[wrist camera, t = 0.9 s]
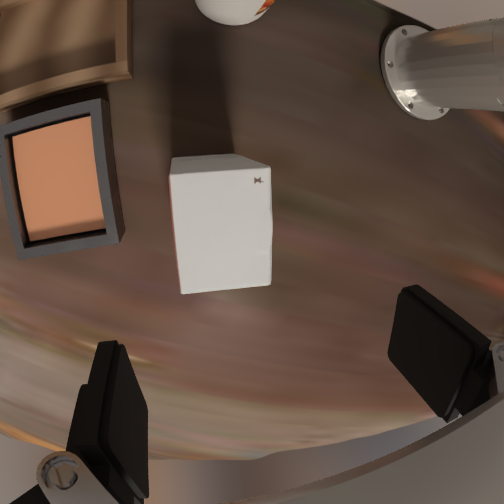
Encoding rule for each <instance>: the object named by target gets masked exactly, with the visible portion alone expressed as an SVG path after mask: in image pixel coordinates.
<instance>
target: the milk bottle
mask: <svg viewBox="0 0 504 504" xmlns="http://www.w3.org/2000/svg"><path fill="white" fill-rule="evenodd" d="M274 1H275V0H195V2H196V5H197V7H198V8H199V10H200V11H201V12H202V13H203V14H204V15H205V16H206V17H208V18H209V19H211V20H213V21H215V22H218V23H221V24H226V25H243V24H247V23H250V22H252V21H254V20H256V19H258V18H259V17H260V16H262V15H263V14H264V13H265V12H266V11H267V9H268V8H269V7H270V6H271V5H272V4H273V2H274Z"/></svg>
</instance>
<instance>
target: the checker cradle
mask: <svg viewBox="0 0 504 504" xmlns="http://www.w3.org/2000/svg"><path fill="white" fill-rule="evenodd" d="M89 116H91V127H92V138H93V147H94V156H95V164H96V172H97V179H98V186H99V193H100V199H101V205H102V211H103V216H104V222H105V227H106V228H103V229H97V230H91V231H85V232H79V233H74V234H68V235H62V236H57V237H51V238H46V239H40V240H35V241H30V238H29V234H28V230H27V226H26V221H25V217H24V212H23V207H22V202H21V196H20V191H19V185H18V178H17V172H16V164H15V157H14V148H13V138H12V137H14V136H17V135H20V134H23V133H27V132H30V131H34V130H37V129H41V128H44V127H48V126H52V125H55V124H59V123H63V122H67V121H72V120H76V119H80V118H85V117H89ZM0 175H1V182H2V188H3V193H4V199H5V204H6V209H7V214H8V219H9V223H10V228H11V232H12V236H13V240H14V244H15V248H16V251H17V255H18V259H19V260H21V259H27V258H33V257H39V256H44V255H50V254H56V253H62V252H68V251H75V250H81V249H87V248H93V247H100V246H106V245H112V244H119V243H120V241H121V239H122V237H123V235H124V233H125V226H124V220H123V214H122V208H121V202H120V195H119V189H118V181H117V174H116V166H115V158H114V149H113V139H112V129H111V117H110V103H109V102H108V101H105V100H103V99H101V98H98V99H94V100H89V101H85V102H80V103H76V104H72V105H68V106H64V107H60V108H56V109H52V110H49V111H45V112H42V113H38V114H35V115H32V116H28V117H25V118H22V119H19V120H16V121H13V122H10V123H7V124H4V125H1V126H0Z"/></svg>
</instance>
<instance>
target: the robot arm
mask: <svg viewBox="0 0 504 504" xmlns="http://www.w3.org/2000/svg"><path fill="white" fill-rule="evenodd" d="M381 69H382V74H383V78H384V81H385V84H386V86H387V88H388V90H389V92H390V94H391V96H392V97H393V99H394V100H395V102H396V103H397V104H398V105H399V106H400V107H401V108H402V109H403V110H404V111H405V112H407V113H408V114H409V115H411V116H413V117H415V118H419V119H423V120H433V119H438V118H440V117H442V116H443V115H444V114H446V113H447V111H448V110H449V109H450V108H461V109H480V110H493V111H504V17H503V18H496V19H490V20H484V21H478V22H472V23H467V24H461V25H456V26H452V27H447V28H442V29H438V30H434V31H430V32H429V31H427V30H426V29H424V28H421V27H419V26H415V25H405V26H401V27H398V28H396V29H394V30H392V31H391V32H390V33H389V34H388V35H387V37H386V39H385V40H384V43H383V46H382V49H381ZM490 344H491V340H489V339H488V338H487V337H486V336H484V335H483V334H482V333H481V332H479V331H478V330H477V329H476V328H474V327H473V326H472V325H471V324H469V323H468V322H467V321H465V320H464V319H463V318H462V317H460V316H459V315H458V314H456V313H455V312H454V311H453V310H451V309H450V308H449V307H447V306H446V305H445V304H443V303H442V302H441V301H439V300H438V299H437V298H435V297H434V296H433V295H431V294H430V293H429V292H427V291H426V290H425V289H423V288H422V287H421V286H419V285H412V286H408V287H404V288H403V289H402V290H401V293H399V295H398V299H397V305H396V311H395V317H394V322H393V328H392V333H391V338H390V343H389V348H388V357H389V359H390V361H391V362H392V363H393V364H394V365H395V367H396V368H397V369H398V370H399V371H400V372H401V373H402V375H403V376H404V377H405V378H406V379H407V380H408V382H409V383H410V384H411V385H412V386H413V387H414V389H415V390H416V391H417V392H418V393H419V395H420V396H421V397H422V398H423V399H424V400H425V402H426V403H427V404H428V405H429V406H430V408H431V409H432V410H433V411H434V412H435V414H436V415H437V416H438V417H442V418H443V419H444V420H445V421H446V423H448V422H450V421H452V420H453V419H455V418H457V417H458V415H459V413H460V414H461V415H462V417H461V418H459V419H457V420H455V421H454V422H452V423H450V424H448V425H447V426H445V427H443V428H441V429H439V430H438V431H436V432H434V433H432V434H430V435H428V436H426V437H424V438H422V439H420V440H418V441H416V442H414V443H412V444H410V445H408V446H406V447H404V448H402V449H399V450H397V451H395V452H393V453H391V454H388V455H386V456H384V457H381V458H379V459H376V460H374V461H372V462H369V463H367V464H364V465H361V466H359V467H356V468H354V469H351V470H348V471H345V472H343V473H340V474H337V475H334V476H331V477H328V478H325V479H322V480H318V481H315V482H312V483H309V484H305V485H302V486H298V487H295V488H291V489H287V490H283V491H279V492H275V493H271V494H267V495H262V496H258V497H253V498H248V499H242V500H237V501H231V502H226V503H220V504H504V342H501V343H497V344H496V345H495V346H494V347H493V349H492V351H490V350H489V346H490ZM36 473H37V481H38V484H37V485H36V486H34V487H33V488H32V489H30V490H29V491H27V492H26V493H25V494H23V495H22V496H20V497H19V498H17V499H16V500H14V501H13V502H12V503H10V504H144V498H148V497H149V481H148V409H147V404H146V401H145V399H144V396H143V394H142V391H141V389H140V386H139V384H138V381H137V379H136V376H135V373H134V371H133V368H132V365H131V363H130V360H129V357H128V354H127V351H126V348H125V346H124V345H123V344H118V342H117V341H116V340H113V341H103V342H99V343H98V346H97V349H96V353H95V357H94V360H93V364H92V368H91V372H90V376H89V380H88V384H83V385H82V386H81V388H80V390H79V394H78V398H77V402H76V406H75V410H74V414H73V419H72V423H71V428H70V432H69V437H68V442H67V447H66V451H59V452H54V453H52V454H49V455H48V456H46V457H45V458H44V459H43V460H42V461H41V463H40V464H39V465H38V468H37V472H36Z"/></svg>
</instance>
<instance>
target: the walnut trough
mask: <svg viewBox="0 0 504 504" xmlns="http://www.w3.org/2000/svg"><path fill="white" fill-rule="evenodd" d="M128 79H133V59H132V0H0V113H2V112H5V111H8V110H11V109H13V108H16V107H19V106H22V105H25V104H29V103H32V102H35V101H38V100H42V99H45V98H48V97H52V96H56V95H59V94H63V93H67V92H71V91H75V90H79V89H83V88H88V87H92V86H97V85H102V84H107V83H112V82H117V81H122V80H128Z"/></svg>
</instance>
